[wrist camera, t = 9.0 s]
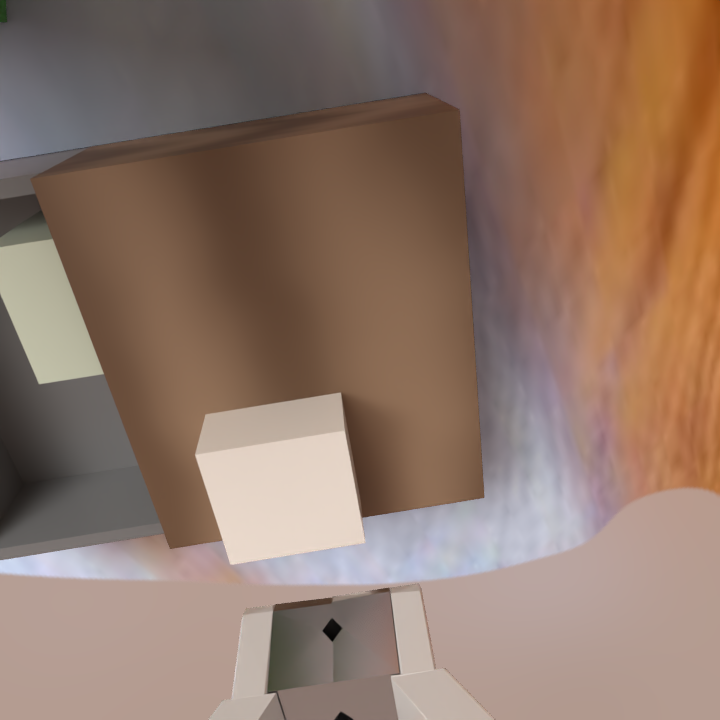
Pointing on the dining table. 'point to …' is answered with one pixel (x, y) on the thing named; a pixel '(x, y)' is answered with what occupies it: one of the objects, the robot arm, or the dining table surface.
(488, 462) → the dining table surface
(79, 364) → the sage tile
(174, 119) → the dining table surface
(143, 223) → the brown box sleeve
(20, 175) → the tray
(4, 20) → the hardback book
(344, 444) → the white tile
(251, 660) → the robot arm
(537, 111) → the dining table surface
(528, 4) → the dining table surface
